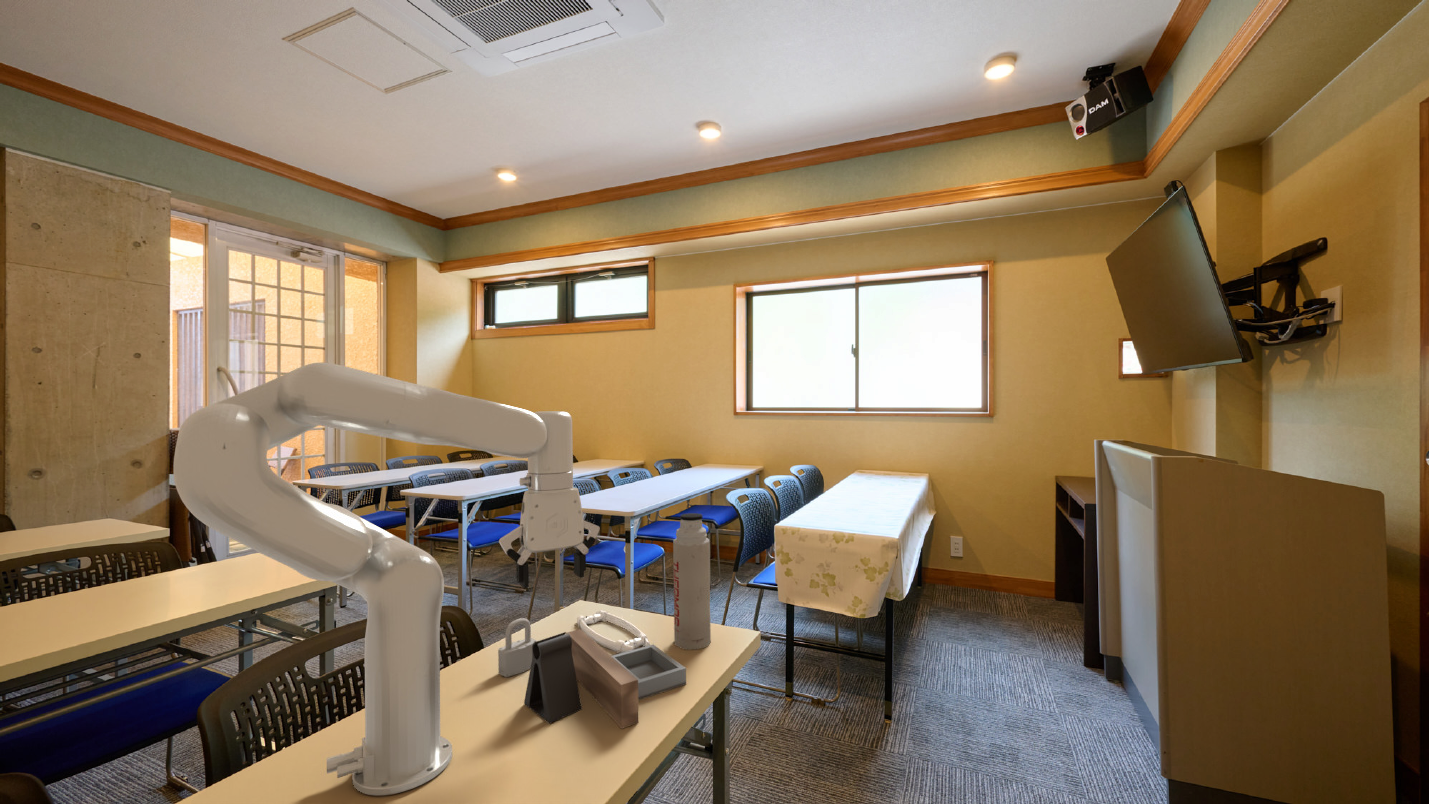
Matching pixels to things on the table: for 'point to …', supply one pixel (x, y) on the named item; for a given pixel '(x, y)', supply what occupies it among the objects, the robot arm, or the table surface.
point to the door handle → (613, 645)
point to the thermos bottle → (691, 584)
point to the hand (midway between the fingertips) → (552, 580)
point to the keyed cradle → (652, 670)
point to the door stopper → (553, 679)
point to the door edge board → (605, 679)
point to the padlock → (516, 651)
